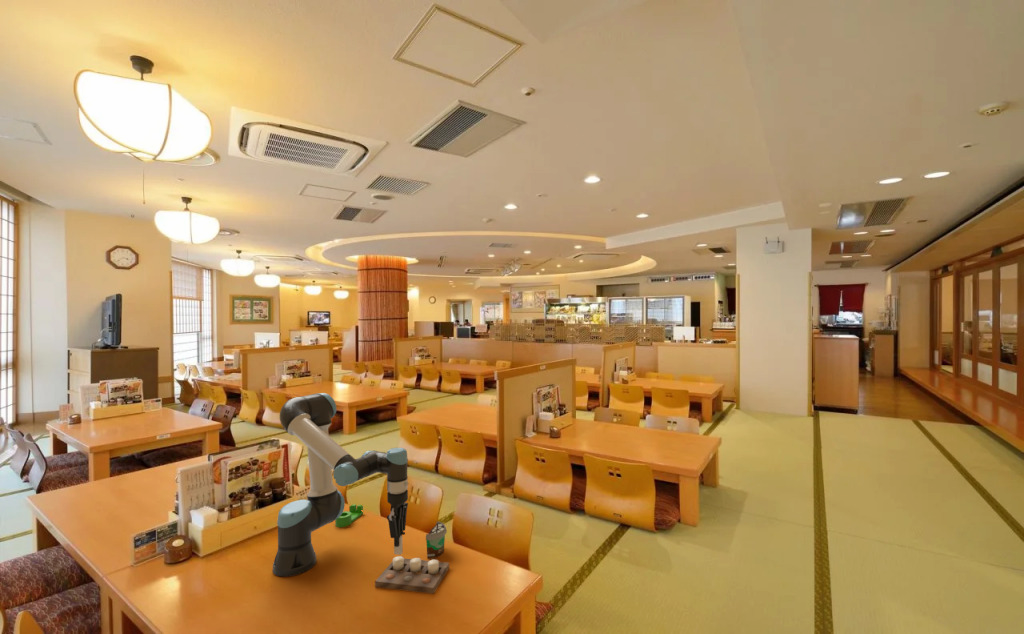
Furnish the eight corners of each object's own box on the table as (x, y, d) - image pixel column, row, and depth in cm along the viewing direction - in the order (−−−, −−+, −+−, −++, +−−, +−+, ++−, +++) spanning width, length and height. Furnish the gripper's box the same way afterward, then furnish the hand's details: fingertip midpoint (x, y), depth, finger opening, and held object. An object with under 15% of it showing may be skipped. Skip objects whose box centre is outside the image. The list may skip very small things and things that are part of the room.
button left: (390, 570, 162) (390, 561, 162) (395, 564, 166) (395, 555, 166) (400, 571, 162) (400, 562, 162) (405, 565, 166) (405, 556, 166)
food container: (440, 561, 171) (440, 536, 171) (425, 560, 172) (425, 534, 172) (451, 545, 183) (450, 522, 183) (437, 544, 184) (437, 520, 184)
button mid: (408, 572, 161) (408, 563, 161) (412, 566, 165) (412, 557, 165) (418, 573, 160) (418, 564, 160) (422, 567, 164) (422, 558, 164)
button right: (426, 574, 160) (426, 564, 160) (430, 568, 164) (430, 559, 164) (436, 575, 159) (436, 565, 159) (440, 569, 163) (440, 560, 163)
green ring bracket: (345, 528, 201) (345, 518, 201) (332, 527, 202) (332, 517, 202) (363, 514, 215) (363, 505, 215) (350, 513, 217) (350, 504, 217)
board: (375, 586, 155) (375, 580, 155) (395, 562, 171) (395, 557, 171) (433, 593, 151) (433, 587, 151) (449, 568, 166) (449, 562, 166)
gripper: (399, 497, 157) (399, 563, 157) (414, 484, 170) (414, 545, 170) (379, 496, 159) (380, 561, 158) (396, 483, 172) (397, 544, 171)
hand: (398, 553), depth 164 cm, fingers closed
